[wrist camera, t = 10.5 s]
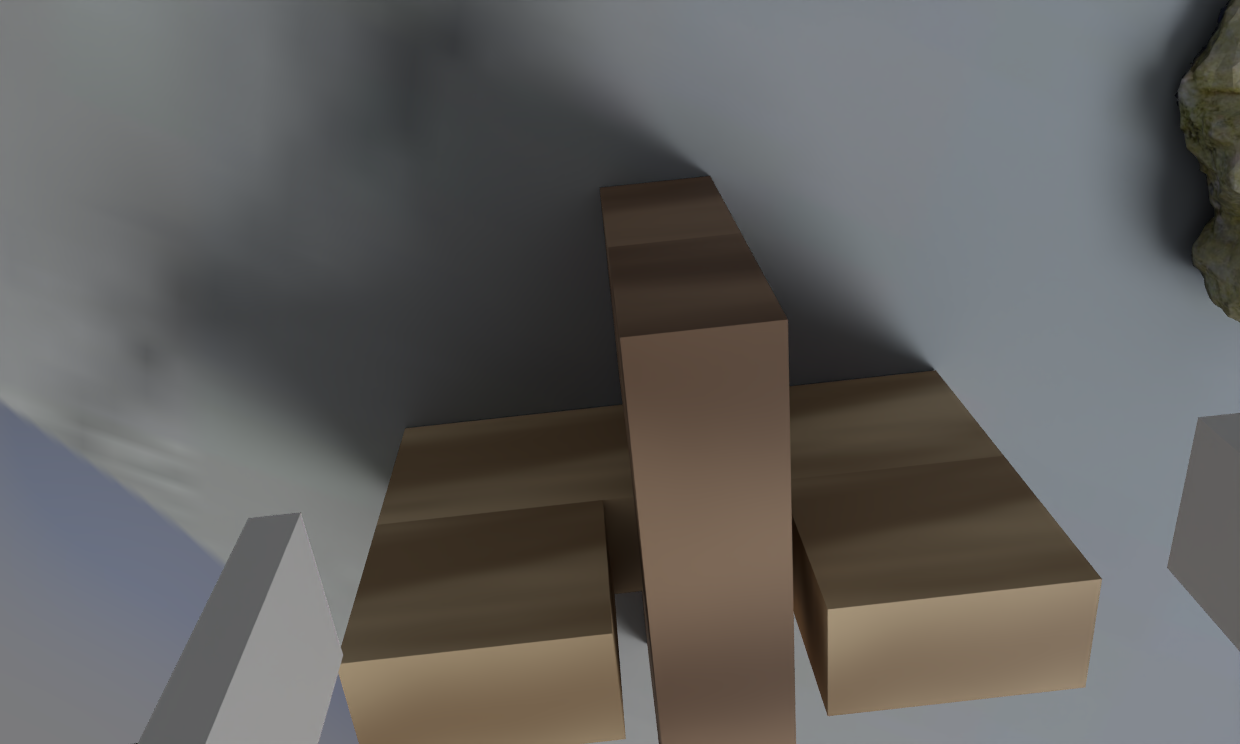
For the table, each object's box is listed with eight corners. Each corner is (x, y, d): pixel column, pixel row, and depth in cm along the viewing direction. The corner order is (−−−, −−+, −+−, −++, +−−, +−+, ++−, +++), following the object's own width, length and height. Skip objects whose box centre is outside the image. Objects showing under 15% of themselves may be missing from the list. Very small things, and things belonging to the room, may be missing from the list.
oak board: (404, 428, 29) (335, 664, 20) (935, 370, 29) (1101, 579, 20) (423, 511, 30) (366, 767, 21) (931, 455, 31) (1085, 687, 22)
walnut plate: (599, 187, 26) (620, 337, 17) (710, 175, 26) (788, 319, 17) (647, 645, 33) (679, 920, 24) (734, 635, 33) (798, 907, 24)
